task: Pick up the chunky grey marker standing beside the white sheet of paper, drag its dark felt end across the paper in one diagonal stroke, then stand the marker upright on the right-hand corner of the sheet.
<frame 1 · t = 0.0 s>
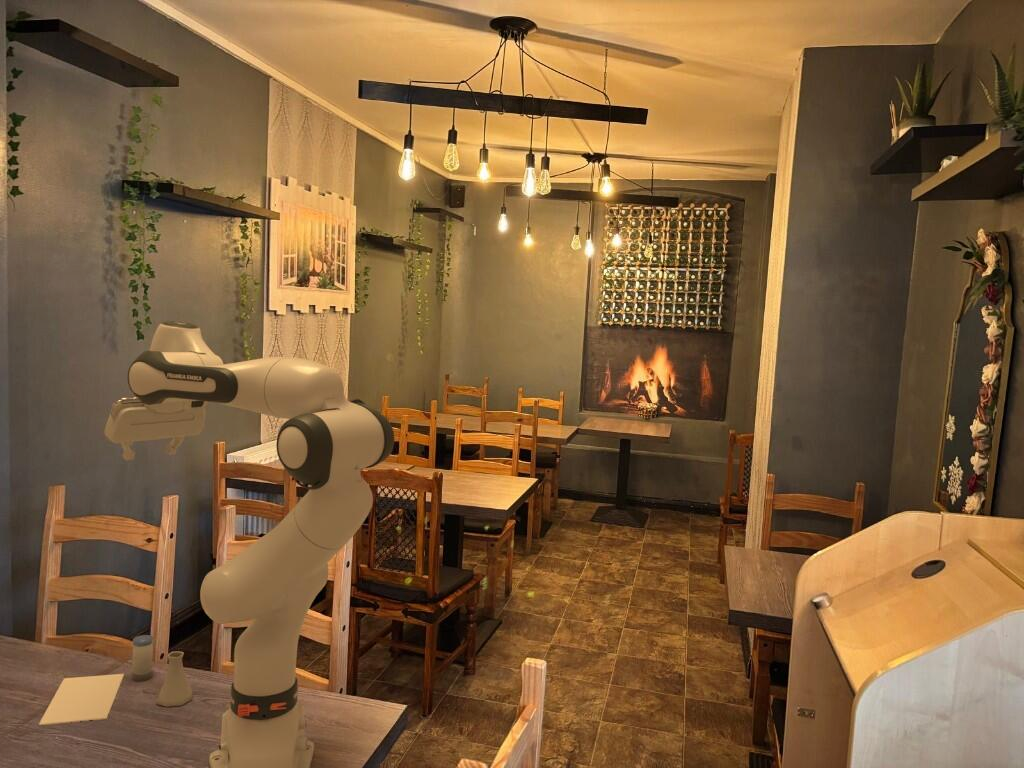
hand: (149, 456, 161), 52 cm above the table, tool tilted 20°, fingers open, 8 cm apart
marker: (142, 677, 174), on the table
flask: (174, 700, 165), on the table
paper: (84, 698, 163), on the table
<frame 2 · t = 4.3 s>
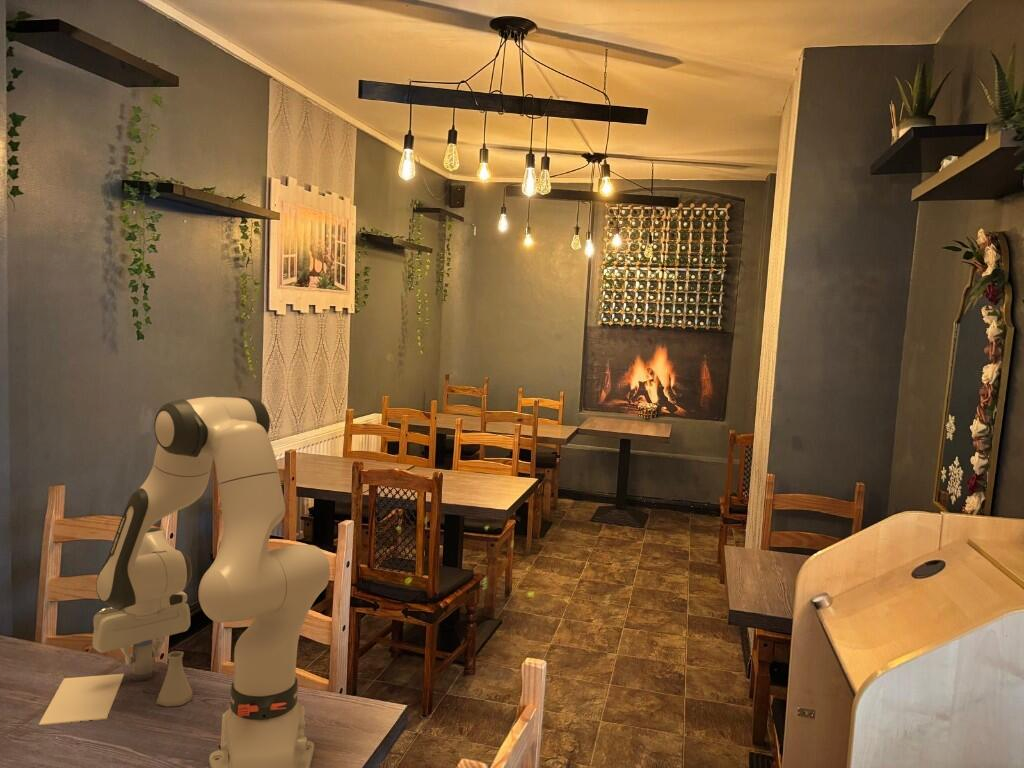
hand: (142, 659, 173), 4 cm above the table, tool pointing down, fingers closed on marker, 4 cm apart
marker: (142, 677, 174), on the table, touching gripper
everything else where it was.
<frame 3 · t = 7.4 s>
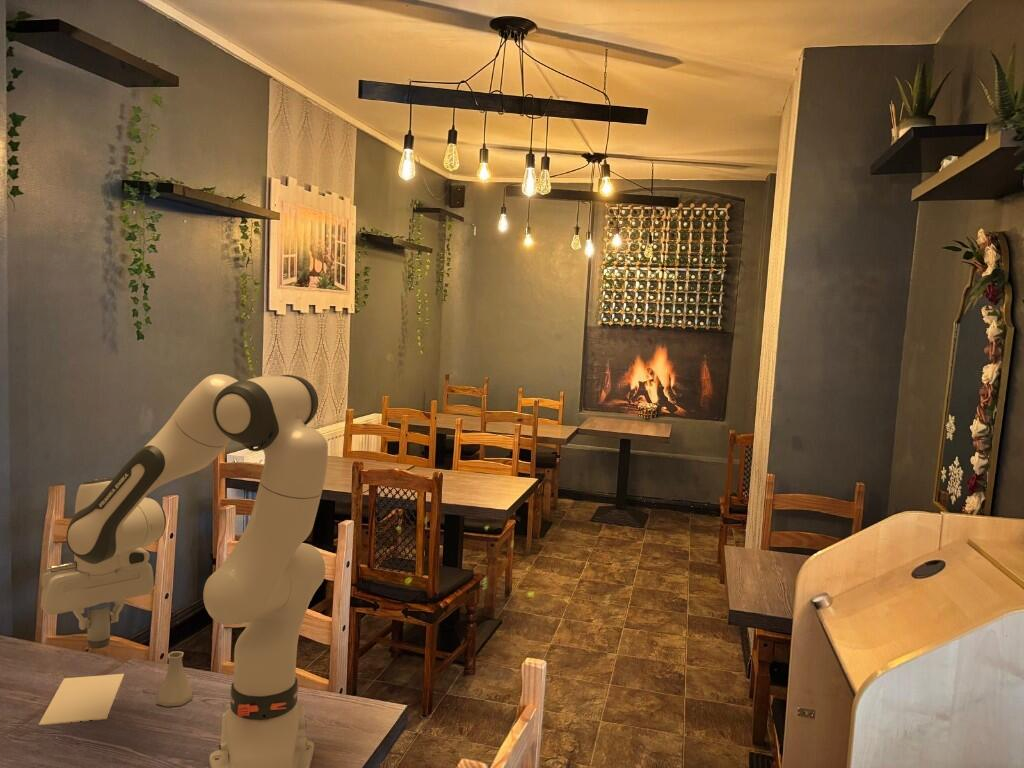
hand: (99, 624, 155), 19 cm above the table, tool pointing down, fingers closed on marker, 4 cm apart
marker: (98, 644, 156), point 15 cm above the table, touching gripper
everything else where it was.
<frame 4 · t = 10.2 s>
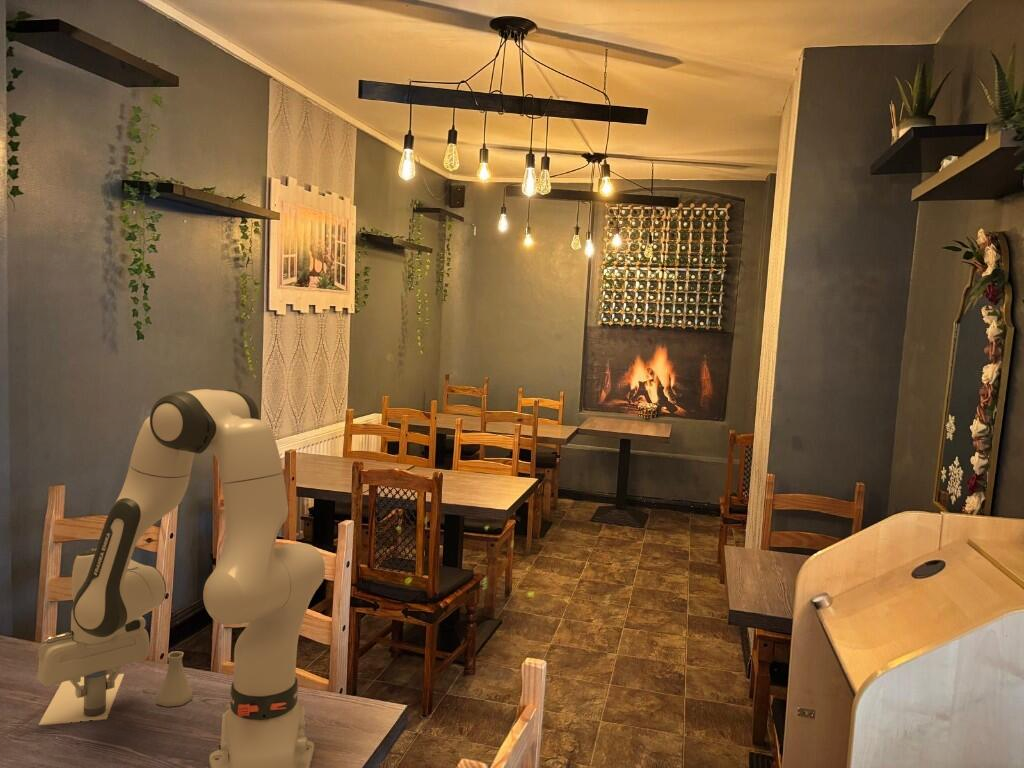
hand: (95, 692, 157), 5 cm above the table, tool pointing down, fingers closed on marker, 4 cm apart
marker: (94, 711, 157), resting on paper, touching gripper
everything else where it was.
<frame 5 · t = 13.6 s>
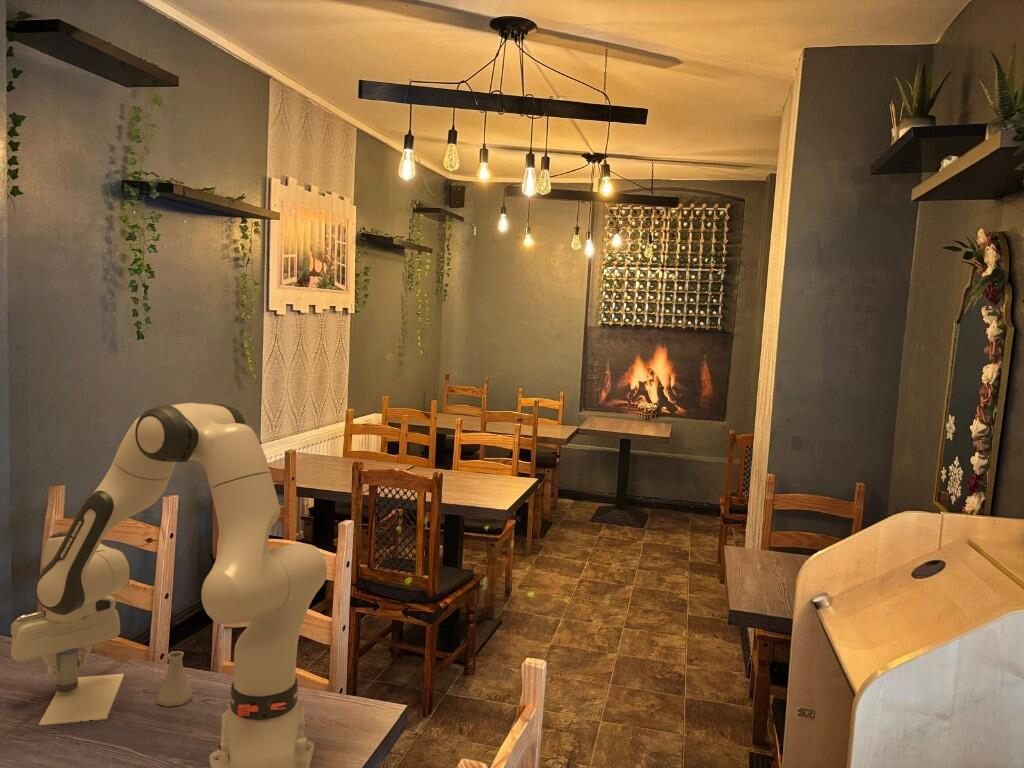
hand: (67, 669, 164), 5 cm above the table, tool pointing down, fingers closed on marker, 4 cm apart
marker: (67, 687, 164), point 1 cm above the table, touching gripper
everything else where it was.
when the fingers open (6 cm above the table, at t = 16.4 s): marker drops 1 cm, resting on paper.
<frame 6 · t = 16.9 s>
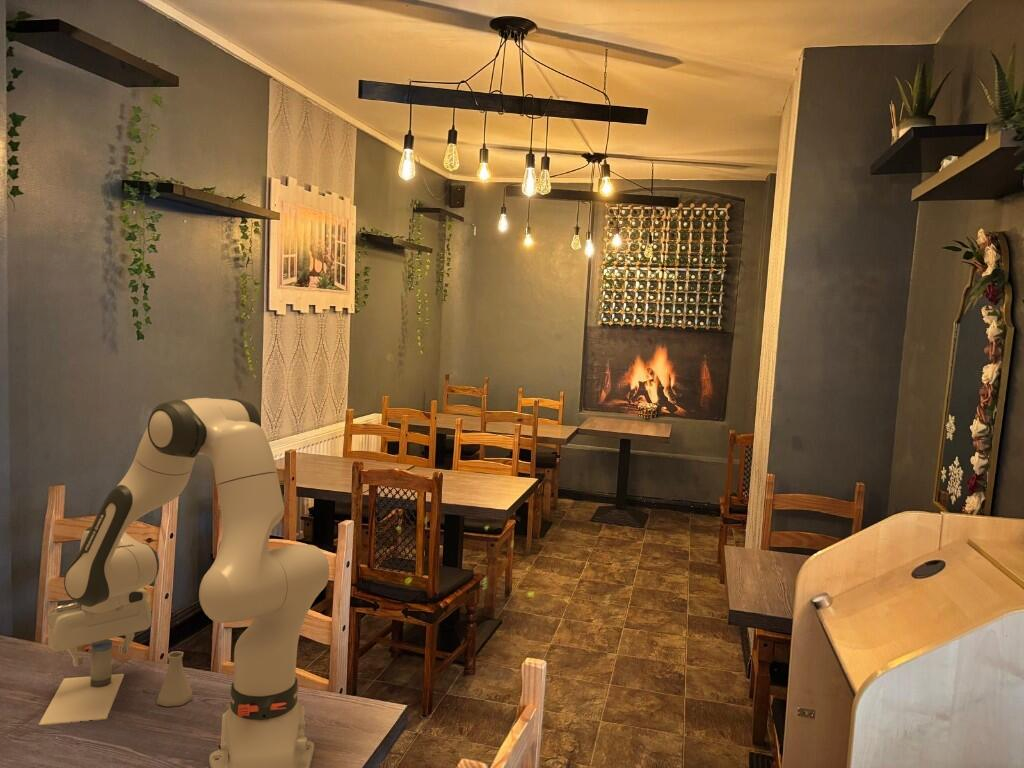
hand: (101, 658, 169), 6 cm above the table, tool pointing down, fingers open, 8 cm apart
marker: (100, 683, 169), resting on paper
everything else where it was.
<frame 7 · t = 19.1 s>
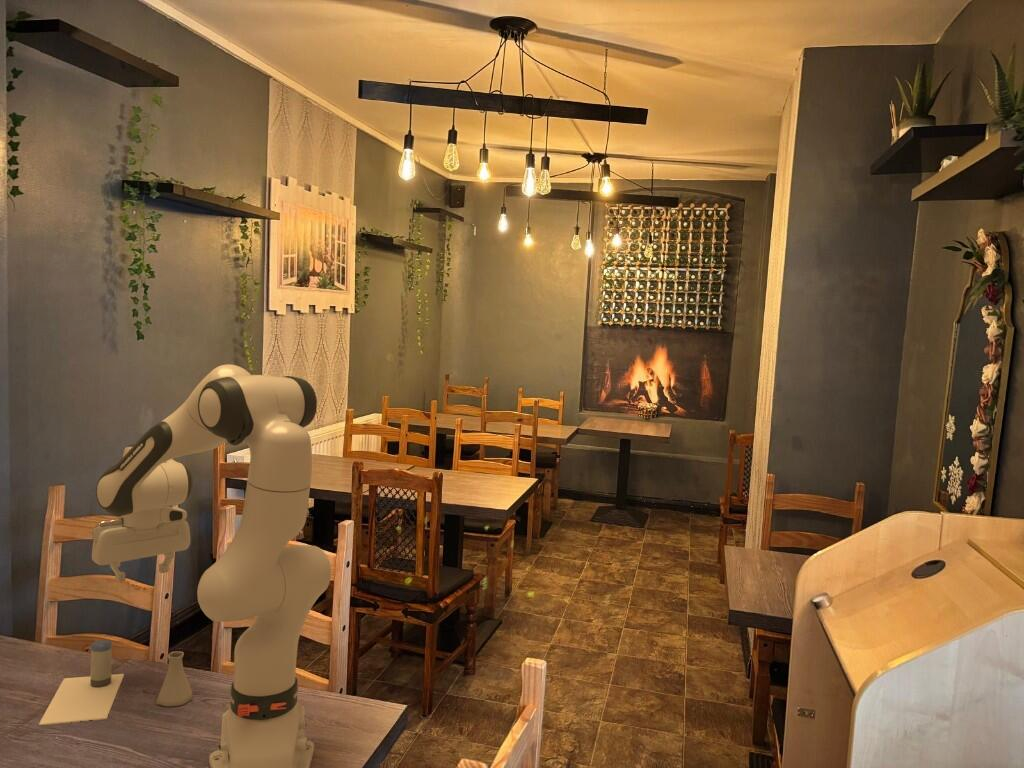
hand: (142, 576, 171), 23 cm above the table, tool pointing down, fingers open, 8 cm apart
nothing on the table moved.
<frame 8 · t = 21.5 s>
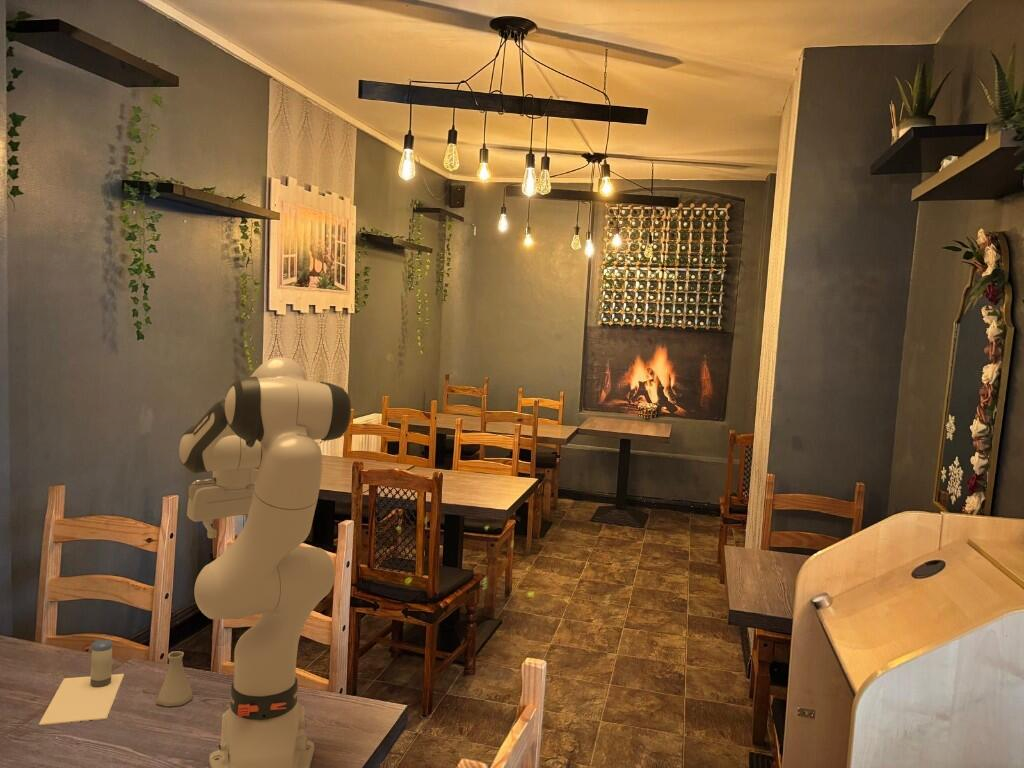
hand: (231, 534, 181), 31 cm above the table, tool pointing down, fingers open, 8 cm apart
nothing on the table moved.
at the end: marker inside the target area on the paper (6.3 cm from its centre), point 0.3 cm above the paper's base; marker tilted 1°; the gripper is holding nothing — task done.
